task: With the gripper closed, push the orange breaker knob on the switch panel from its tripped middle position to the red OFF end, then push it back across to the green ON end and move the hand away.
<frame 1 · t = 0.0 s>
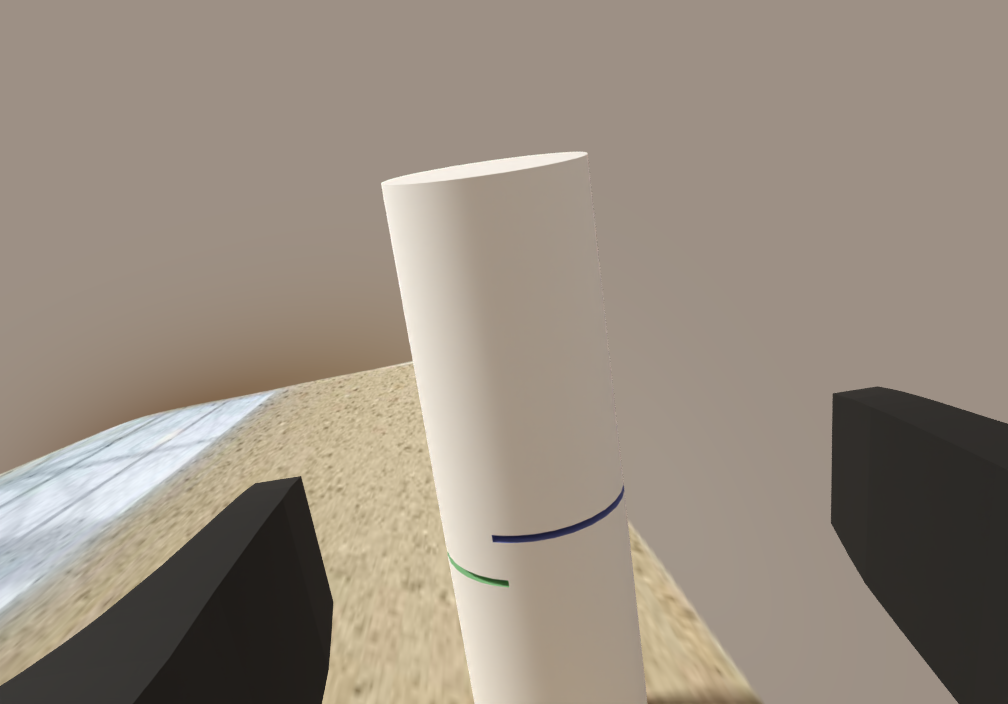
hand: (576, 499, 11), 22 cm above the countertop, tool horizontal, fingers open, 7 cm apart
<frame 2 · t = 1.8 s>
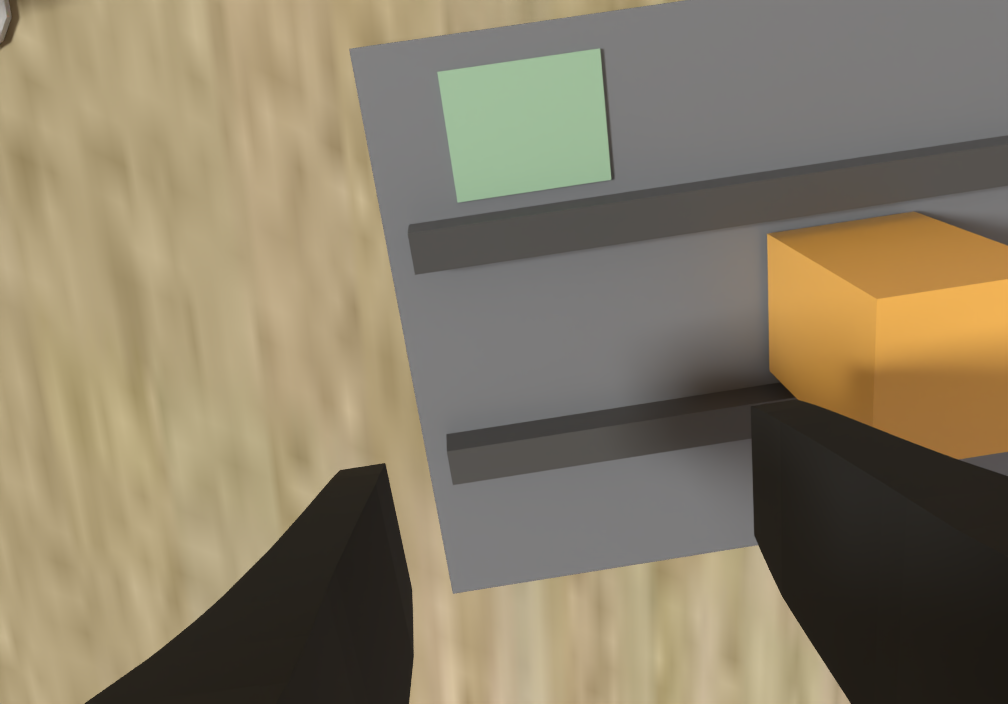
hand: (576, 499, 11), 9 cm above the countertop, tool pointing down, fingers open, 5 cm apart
breaker knob: (894, 328, 15), point 5 cm above the countertop, slide at 0.0 cm
switch panel: (779, 255, 20), on the countertop
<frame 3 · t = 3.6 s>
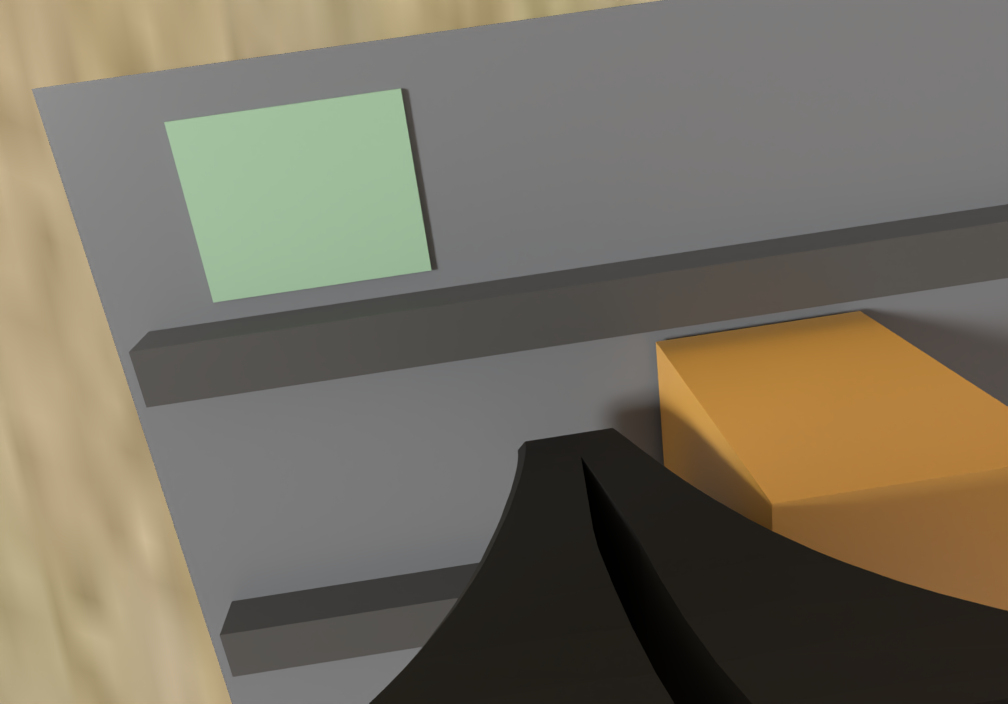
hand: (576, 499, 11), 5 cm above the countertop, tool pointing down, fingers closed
breaker knob: (823, 494, 10), point 5 cm above the countertop, slide at 0.0 cm, touching gripper
switch panel: (696, 345, 15), on the countertop
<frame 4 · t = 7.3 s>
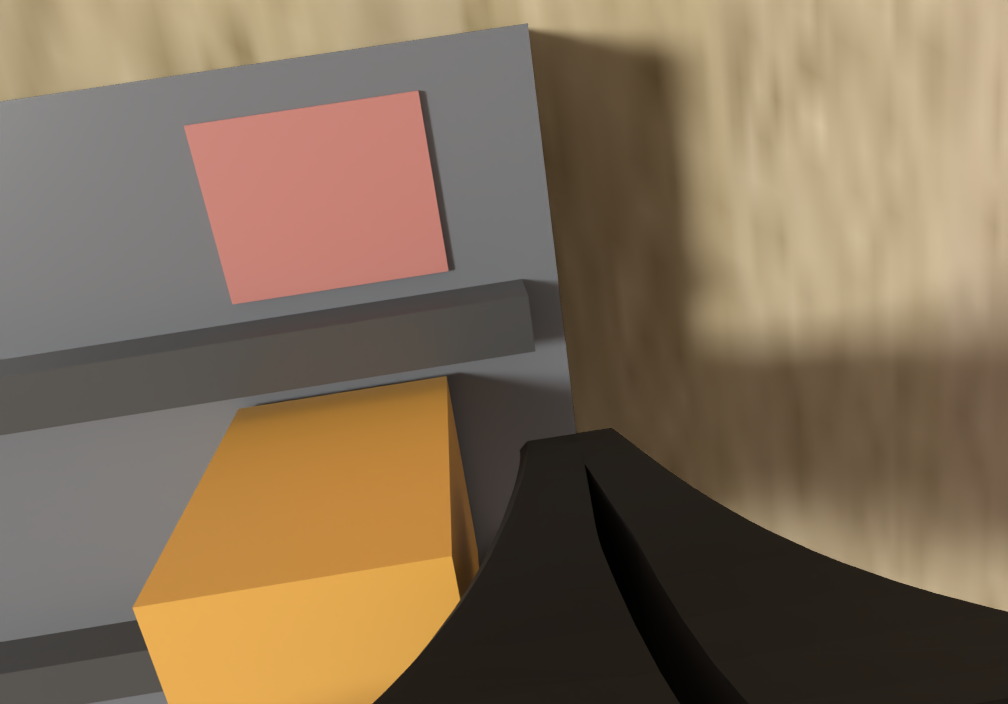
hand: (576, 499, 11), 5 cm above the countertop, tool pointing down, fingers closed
breaker knob: (349, 571, 10), point 5 cm above the countertop, slide at -5.7 cm, touching gripper
switch panel: (70, 444, 15), on the countertop
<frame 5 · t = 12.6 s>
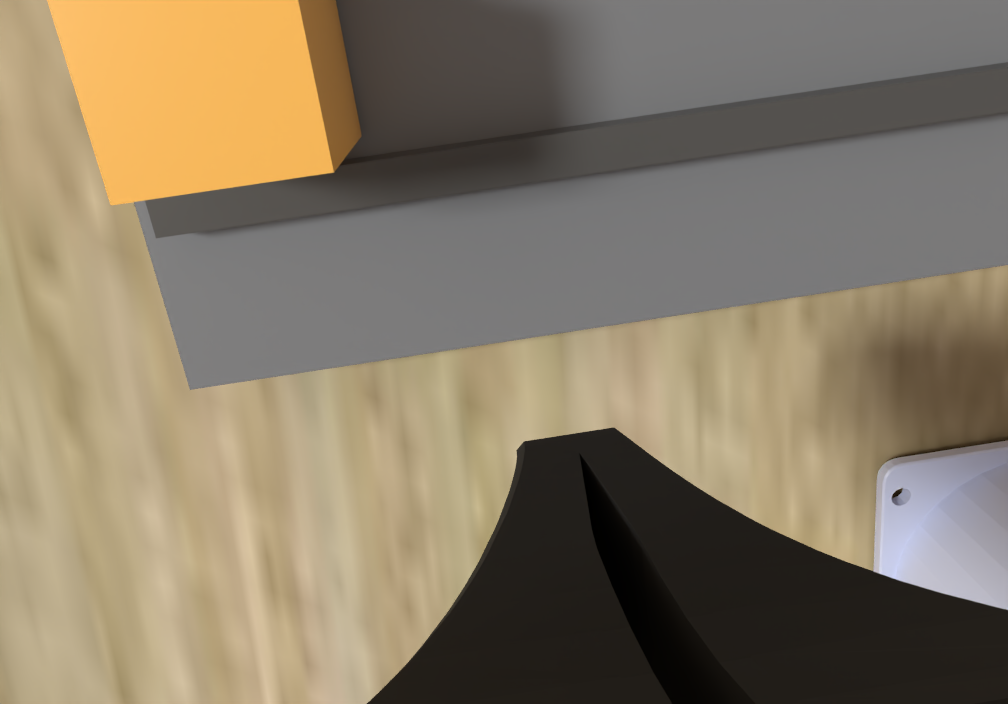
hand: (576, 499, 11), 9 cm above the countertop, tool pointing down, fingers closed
breaker knob: (232, 66, 13), point 5 cm above the countertop, slide at 6.1 cm
switch panel: (570, 17, 18), on the countertop
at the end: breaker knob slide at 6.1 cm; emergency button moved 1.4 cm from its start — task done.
